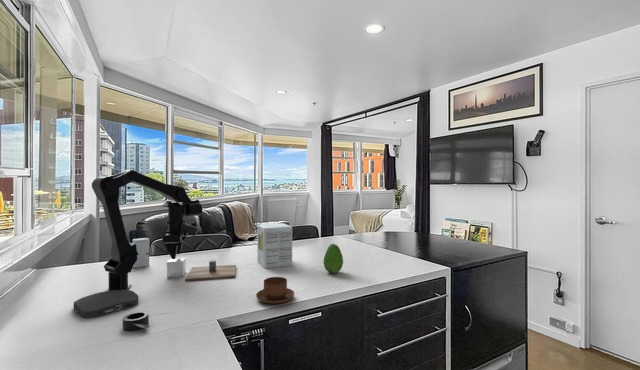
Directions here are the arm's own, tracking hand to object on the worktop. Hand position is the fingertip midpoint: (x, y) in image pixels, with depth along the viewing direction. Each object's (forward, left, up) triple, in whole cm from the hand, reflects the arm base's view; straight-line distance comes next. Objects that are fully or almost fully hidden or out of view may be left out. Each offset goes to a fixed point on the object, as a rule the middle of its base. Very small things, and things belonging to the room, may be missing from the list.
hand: (176, 256), depth 126 cm
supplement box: (+8, -40, -8) cm, 42 cm away
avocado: (-13, -62, -8) cm, 64 cm away
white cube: (0, 0, -7) cm, 7 cm away
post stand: (-2, -14, -7) cm, 16 cm away
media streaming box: (-29, +14, -8) cm, 33 cm away
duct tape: (-46, +1, -8) cm, 47 cm away
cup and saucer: (-36, -36, -8) cm, 52 cm away
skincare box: (+18, +18, -8) cm, 27 cm away
